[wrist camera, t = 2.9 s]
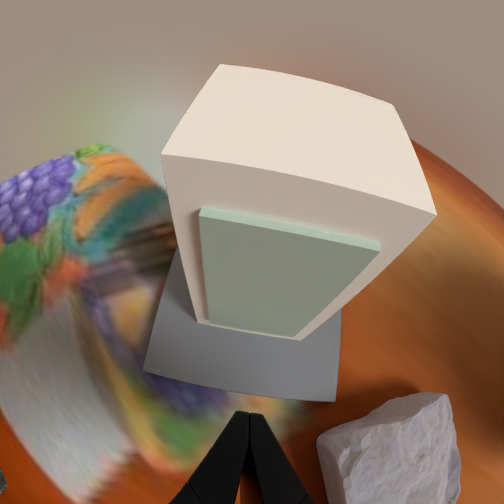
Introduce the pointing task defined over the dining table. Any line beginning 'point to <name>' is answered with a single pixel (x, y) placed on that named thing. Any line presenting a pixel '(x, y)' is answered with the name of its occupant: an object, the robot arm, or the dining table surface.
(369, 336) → the dining table surface
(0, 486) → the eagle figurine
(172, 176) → the tall block
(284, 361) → the mat
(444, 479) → the stone block
